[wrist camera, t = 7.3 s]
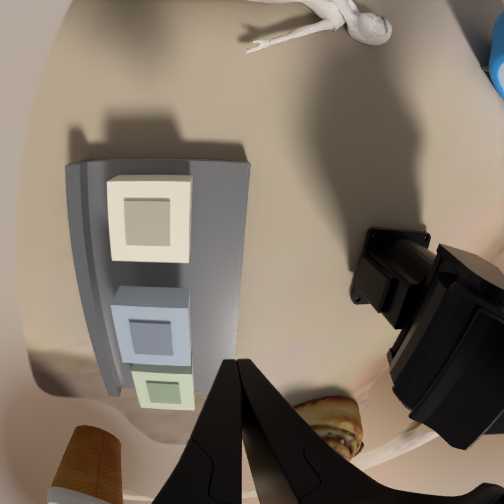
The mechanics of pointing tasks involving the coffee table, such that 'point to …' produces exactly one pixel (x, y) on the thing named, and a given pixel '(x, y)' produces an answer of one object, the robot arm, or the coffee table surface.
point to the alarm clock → (497, 56)
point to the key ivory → (150, 217)
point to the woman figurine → (335, 23)
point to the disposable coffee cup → (89, 470)
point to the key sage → (165, 386)
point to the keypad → (163, 273)
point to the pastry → (335, 423)
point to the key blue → (153, 325)
